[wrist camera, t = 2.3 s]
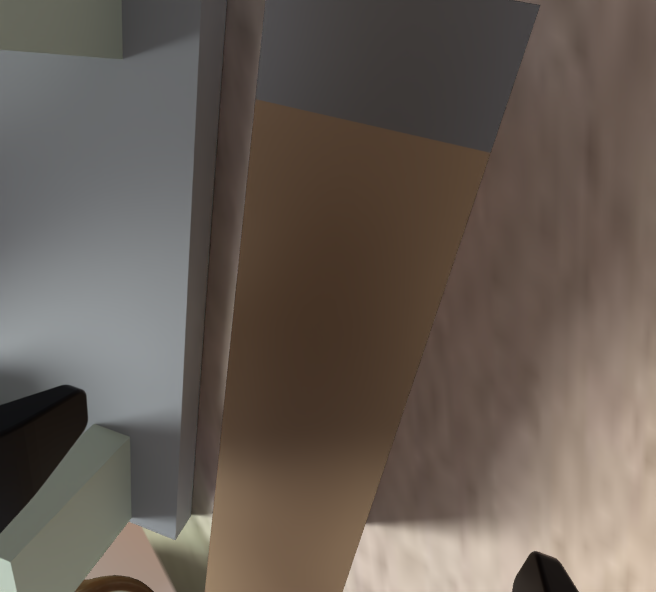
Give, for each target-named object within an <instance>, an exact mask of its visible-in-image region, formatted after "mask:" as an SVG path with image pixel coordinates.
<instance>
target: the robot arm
mask: <svg viewBox="0 0 656 592" xmlns="http://www.w3.org/2000/svg"><path fill="white" fill-rule="evenodd" d="M87 424H88V407H87V395H86V392H85V391H84V390H83V389H80V388H78V387H75V386H72V385H68V384H65V385H60V386H57V387H54V388H51V389H48V390H45V391H42V392H39V393H35V394H32V395H29V396H26V397H23V398H20V399H17V400H14V401H11V402H8V403H4V404H1V405H0V533H1V532H2V531H3V530H4V529H5V528H6V527H7V526H8V525H9V524H10V523H11V521H12V520H13V519H14V518H15V517H16V516H17V515H18V514H19V513H20V512H21V510H22V509H23V508H24V507H25V506H26V505H27V504H28V503H29V502H30V500H31V499H32V498H33V497H34V496H35V495H36V493H37V492H38V491H39V490H40V488H41V487H42V486H43V485H44V483H45V482H46V481H47V479H48V478H49V477H50V475H51V474H52V473H53V471H54V470H55V469H56V468H57V466H58V465H59V464H60V462H61V461H62V460H63V458H64V457H65V456H66V454H67V453H68V452H69V450H70V449H71V448H72V446H73V445H74V444H75V443H76V441H77V440H78V439H79V437H80V436H81V435H82V433H83V432H84V430H85V428H86V426H87ZM512 592H579V591H578V590H577V588H576V586H575V585H574V583H573V582H572V580H571V578H570V577H569V575H568V574H567V572H566V570H565V569H564V567H563V566H562V564H561V563H560V562H559V561H558V560H557V559H556V558H554V557H551V556H549V555H546V554H543V553H540V552H537V551H534V552H532V553H531V554H530V555H529V556H528V558H527V559H526V561H525V563H524V564H523V566H522V567H521V569H520V571H519V572H518V574H517V576H516V578H515V580H514V583H513V589H512Z"/></svg>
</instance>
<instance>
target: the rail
mask: <svg viewBox="0 0 656 592" xmlns="http://www.w3.org/2000/svg"><path fill="white" fill-rule="evenodd" d="M539 7H540V5H537V4H531V3H525V2H519V1H514V0H266V1H265V11H264V21H263V30H262V40H261V50H260V60H259V69H258V79H257V89H256V98H255V108H254V118H253V128H252V137H251V147H250V157H249V167H248V176H247V186H246V196H245V205H244V215H243V225H242V235H241V244H240V254H239V264H238V274H237V283H236V293H235V303H234V312H233V322H232V332H231V342H230V351H229V361H228V371H227V381H226V390H225V400H224V410H223V419H222V429H221V439H220V449H219V458H218V468H217V478H216V488H215V497H214V507H213V517H212V527H211V536H210V546H209V556H208V565H207V575H206V585H205V592H343V589H344V586H345V583H346V580H347V577H348V574H349V571H350V568H351V565H352V562H353V559H354V556H355V553H356V550H357V547H358V545H359V542H360V539H361V536H362V533H363V530H364V527H365V524H366V521H367V518H368V515H369V512H370V509H371V506H372V503H373V500H374V497H375V494H376V491H377V488H378V485H379V482H380V479H381V476H382V473H383V470H384V467H385V464H386V461H387V458H388V455H389V453H390V450H391V447H392V444H393V441H394V438H395V435H396V432H397V429H398V426H399V423H400V420H401V417H402V414H403V411H404V408H405V405H406V402H407V399H408V396H409V393H410V390H411V387H412V384H413V381H414V378H415V375H416V372H417V369H418V366H419V364H420V361H421V358H422V355H423V352H424V349H425V346H426V343H427V340H428V337H429V334H430V331H431V328H432V325H433V322H434V319H435V316H436V313H437V310H438V307H439V304H440V301H441V298H442V295H443V292H444V289H445V286H446V283H447V280H448V277H449V275H450V272H451V269H452V266H453V263H454V260H455V257H456V254H457V251H458V248H459V245H460V242H461V239H462V236H463V233H464V230H465V227H466V224H467V221H468V218H469V215H470V212H471V209H472V206H473V203H474V200H475V197H476V194H477V191H478V188H479V185H480V183H481V180H482V177H483V174H484V171H485V168H486V165H487V162H488V159H489V156H490V153H491V150H492V147H493V144H494V141H495V138H496V135H497V132H498V129H499V126H500V123H501V120H502V117H503V114H504V111H505V108H506V105H507V102H508V99H509V96H510V94H511V91H512V88H513V85H514V82H515V79H516V76H517V73H518V70H519V67H520V64H521V61H522V58H523V55H524V52H525V49H526V46H527V43H528V40H529V37H530V34H531V31H532V28H533V25H534V22H535V19H536V16H537V13H538V10H539Z"/></svg>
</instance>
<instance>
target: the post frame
mask: <svg viewBox="0 0 656 592" xmlns="http://www.w3.org/2000/svg"><path fill="white" fill-rule="evenodd" d="M226 7H227V0H0V405H1V404H4V403H8V402H11V401H14V400H17V399H20V398H23V397H26V396H29V395H32V394H35V393H39V392H42V391H45V390H48V389H51V388H54V387H57V386H60V385H65V384H68V385H72V386H75V387H78V388H80V389H83V390H84V391H85V392H86V395H87V407H88V424H87V426H86V428H85V430H84V432H83V433H82V435H81V436H80V437H79V439H78V440H77V441H76V443H75V444H74V445H73V446H72V448H71V449H70V450H69V452H68V453H67V454H66V456H65V457H64V458H63V460H62V461H61V462H60V464H59V465H58V466H57V468H56V469H55V470H54V471H53V473H52V474H51V475H50V477H49V478H48V479H47V481H46V482H45V483H44V485H43V486H42V487H41V488H40V490H39V491H38V492H37V493H36V495H35V496H34V497H33V498H32V499H31V500H30V502H29V503H28V504H27V505H26V506H25V507H24V508H23V509H22V510H21V512H20V513H19V514H18V515H17V516H16V517H15V518H14V519H13V520H12V521H11V523H10V524H9V525H8V526H7V527H6V528H5V529H4V530H3V531H2V532H1V533H0V592H75V590H76V589H77V588H78V587H79V585H80V584H81V583H82V581H83V580H84V579H85V577H86V576H87V575H88V574H89V572H90V571H91V570H92V568H93V567H94V566H95V565H96V563H97V562H98V561H99V559H100V558H101V557H102V556H103V554H104V553H105V552H106V550H107V549H108V548H109V546H110V545H111V544H112V543H113V541H114V540H115V539H116V537H117V536H118V535H119V533H120V532H121V531H122V530H123V528H124V527H125V526H126V524H127V523H128V522H131V523H134V524H136V525H139V526H141V527H144V528H146V529H149V530H151V531H154V532H156V533H159V534H161V535H164V536H166V537H169V538H171V539H174V540H176V538H177V537H178V535H179V534H180V532H181V530H182V529H183V527H184V526H185V524H186V523H187V521H188V519H189V518H190V516H191V506H192V492H193V478H194V464H195V449H196V435H197V421H198V406H199V392H200V378H201V364H202V349H203V335H204V321H205V306H206V292H207V278H208V264H209V249H210V235H211V221H212V207H213V192H214V178H215V164H216V149H217V135H218V121H219V107H220V92H221V78H222V64H223V49H224V35H225V21H226Z"/></svg>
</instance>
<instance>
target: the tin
mask: <svg viewBox="0 0 656 592" xmlns="http://www.w3.org/2000/svg"><path fill="white" fill-rule="evenodd" d="M75 592H154V591H152V590H151V589H150V588H149V587H148V586H147V585H145V584H144V583H143V582H141V581H139V580H137V579H134V578H130V577H126V576H116V575H113V576H103V577H98V578H93V579H89V580H83V581H82V583H81V584H80V585H79V587H78V588H77V589H76V590H75Z"/></svg>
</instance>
